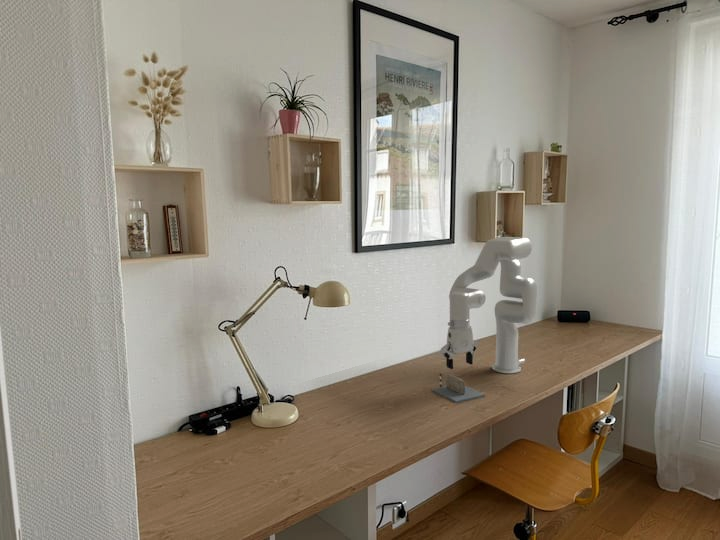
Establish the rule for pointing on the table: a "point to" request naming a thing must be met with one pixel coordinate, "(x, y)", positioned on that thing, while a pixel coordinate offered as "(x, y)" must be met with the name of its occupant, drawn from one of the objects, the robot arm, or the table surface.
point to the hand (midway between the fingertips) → (459, 365)
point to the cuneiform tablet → (454, 383)
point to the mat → (456, 396)
